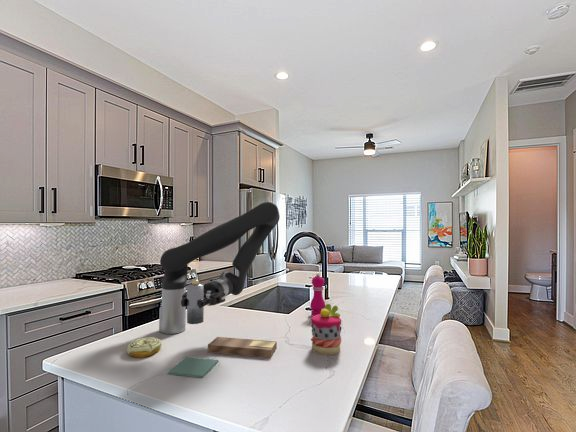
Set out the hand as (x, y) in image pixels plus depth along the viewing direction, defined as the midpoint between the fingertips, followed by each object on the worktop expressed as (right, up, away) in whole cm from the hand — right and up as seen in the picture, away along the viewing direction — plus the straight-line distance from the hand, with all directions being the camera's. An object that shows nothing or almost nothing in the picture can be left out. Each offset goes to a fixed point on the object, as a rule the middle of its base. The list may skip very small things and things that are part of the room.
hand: (191, 303), depth 96 cm
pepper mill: (+42, -22, +61) cm, 77 cm away
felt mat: (0, -20, +3) cm, 20 cm away
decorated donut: (-20, -21, +15) cm, 32 cm away
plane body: (+13, -20, +17) cm, 29 cm away
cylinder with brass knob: (0, -6, +2) cm, 7 cm away
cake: (+42, -21, +18) cm, 50 cm away
